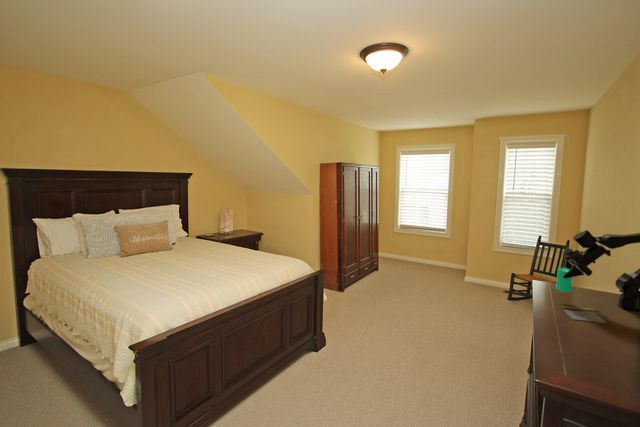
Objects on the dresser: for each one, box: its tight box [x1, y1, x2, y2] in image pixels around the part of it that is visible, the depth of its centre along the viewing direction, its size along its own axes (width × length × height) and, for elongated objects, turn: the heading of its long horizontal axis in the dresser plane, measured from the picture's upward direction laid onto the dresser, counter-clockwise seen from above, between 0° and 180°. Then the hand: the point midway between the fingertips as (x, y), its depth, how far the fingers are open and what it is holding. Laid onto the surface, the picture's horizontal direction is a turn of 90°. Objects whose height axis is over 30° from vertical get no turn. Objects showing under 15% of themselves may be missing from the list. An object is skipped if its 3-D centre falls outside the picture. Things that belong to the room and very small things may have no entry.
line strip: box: [561, 305, 599, 312], centre depth 154 cm, size 14×2×1 cm, turn 73°
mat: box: [562, 309, 607, 324], centre depth 146 cm, size 12×10×1 cm
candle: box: [555, 266, 574, 293], centre depth 161 cm, size 6×6×12 cm
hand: (561, 275), depth 161 cm, fingers closed on candle, 5 cm apart
